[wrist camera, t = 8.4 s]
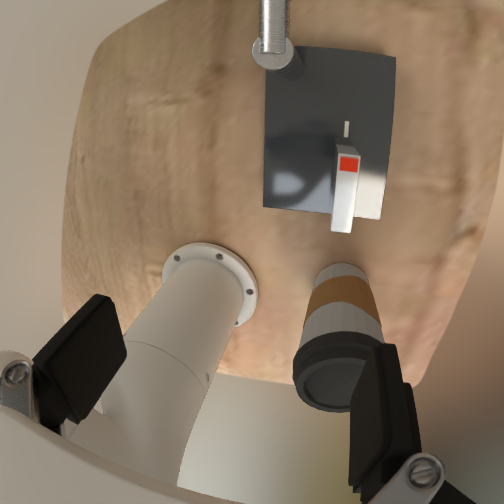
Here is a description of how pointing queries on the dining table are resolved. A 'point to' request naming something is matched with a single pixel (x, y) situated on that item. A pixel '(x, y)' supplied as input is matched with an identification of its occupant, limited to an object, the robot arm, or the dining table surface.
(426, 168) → the dining table surface
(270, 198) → the base
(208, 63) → the dining table surface
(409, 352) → the dining table surface
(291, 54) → the spout
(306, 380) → the coffee cup
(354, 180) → the tap handle
